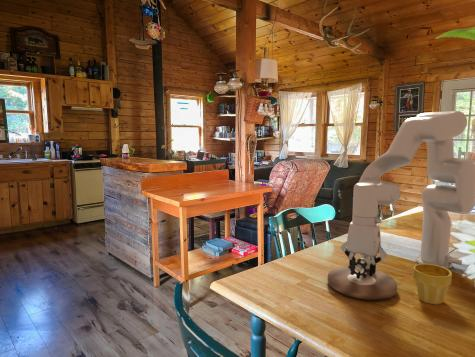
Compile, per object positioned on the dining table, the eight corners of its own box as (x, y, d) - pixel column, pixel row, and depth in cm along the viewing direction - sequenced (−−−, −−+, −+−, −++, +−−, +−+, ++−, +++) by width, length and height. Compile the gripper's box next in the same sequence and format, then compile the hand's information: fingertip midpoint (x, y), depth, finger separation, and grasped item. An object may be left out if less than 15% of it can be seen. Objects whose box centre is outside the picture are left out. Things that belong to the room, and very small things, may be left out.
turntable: (403, 280, 115) (404, 262, 114) (387, 307, 98) (389, 285, 97) (340, 265, 128) (341, 249, 127) (317, 286, 111) (317, 267, 110)
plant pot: (407, 299, 104) (409, 270, 103) (416, 288, 112) (418, 260, 110) (445, 311, 97) (448, 279, 96) (452, 298, 105) (455, 269, 103)
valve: (356, 264, 121) (347, 276, 111) (357, 246, 120) (348, 257, 110) (376, 268, 117) (368, 281, 107) (377, 250, 116) (369, 261, 106)
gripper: (395, 221, 108) (392, 274, 110) (342, 214, 118) (340, 263, 121) (389, 227, 102) (386, 283, 104) (334, 218, 112) (333, 270, 115)
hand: (362, 271), depth 112 cm, fingers closed on valve, 5 cm apart
